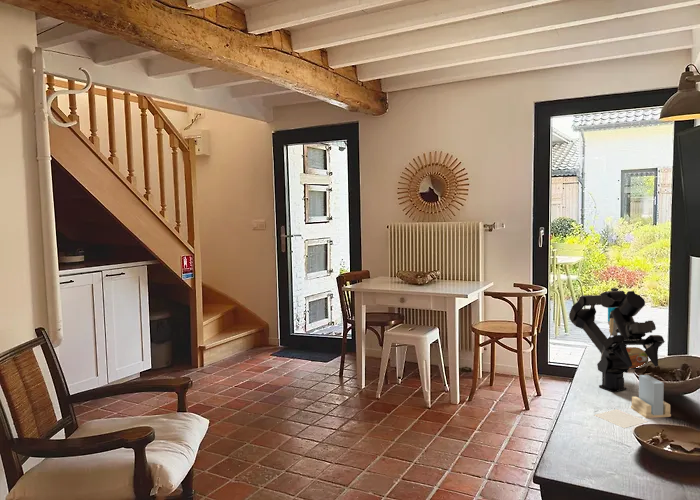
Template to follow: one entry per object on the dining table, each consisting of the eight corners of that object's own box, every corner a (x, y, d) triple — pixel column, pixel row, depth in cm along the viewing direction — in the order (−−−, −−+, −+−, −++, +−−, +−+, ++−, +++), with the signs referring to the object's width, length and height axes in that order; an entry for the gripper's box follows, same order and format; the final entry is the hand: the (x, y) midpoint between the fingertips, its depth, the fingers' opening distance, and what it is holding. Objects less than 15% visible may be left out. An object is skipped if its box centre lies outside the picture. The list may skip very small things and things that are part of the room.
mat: (593, 415, 169) (593, 414, 169) (616, 410, 173) (616, 409, 173) (624, 429, 159) (624, 428, 159) (647, 422, 163) (647, 421, 163)
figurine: (621, 365, 218) (622, 291, 215) (604, 362, 221) (604, 290, 218) (627, 354, 231) (628, 285, 228) (610, 352, 234) (611, 284, 232)
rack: (630, 408, 174) (631, 396, 173) (655, 407, 174) (655, 395, 174) (645, 418, 166) (645, 406, 165) (670, 417, 166) (671, 404, 166)
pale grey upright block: (638, 405, 174) (639, 375, 173) (647, 404, 174) (648, 374, 173) (653, 415, 166) (654, 383, 165) (663, 414, 166) (663, 383, 165)
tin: (606, 367, 215) (606, 347, 214) (605, 365, 218) (605, 345, 217) (648, 370, 211) (648, 349, 210) (646, 367, 214) (646, 346, 213)
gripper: (613, 311, 175) (632, 355, 166) (664, 311, 178) (685, 354, 169) (595, 327, 184) (612, 370, 174) (644, 328, 187) (664, 370, 177)
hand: (644, 366), depth 173 cm, fingers open, 9 cm apart
